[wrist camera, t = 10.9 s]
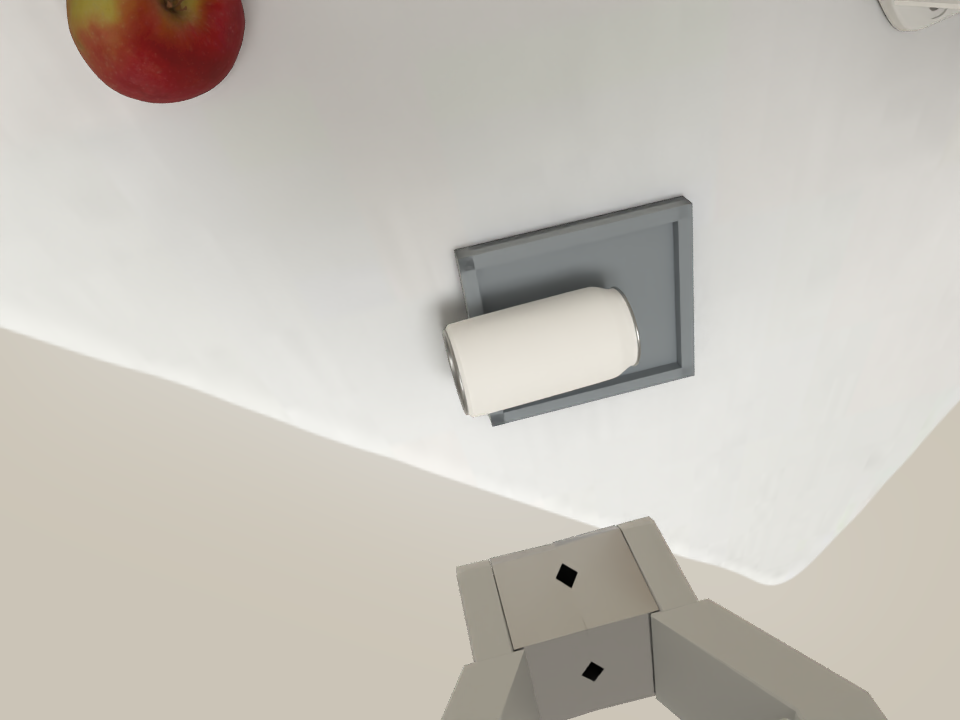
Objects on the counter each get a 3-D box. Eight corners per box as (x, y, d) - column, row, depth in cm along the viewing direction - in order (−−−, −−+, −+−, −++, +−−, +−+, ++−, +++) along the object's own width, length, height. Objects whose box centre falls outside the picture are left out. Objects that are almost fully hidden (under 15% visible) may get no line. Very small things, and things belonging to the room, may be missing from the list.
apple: (263, 83, 41) (251, 115, 34) (111, 89, 40) (67, 124, 33) (239, -74, 37) (220, -73, 30) (69, -72, 36) (9, -70, 29)
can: (465, 421, 51) (625, 376, 52) (470, 418, 44) (652, 366, 46) (440, 333, 52) (599, 291, 53) (442, 317, 45) (622, 269, 46)
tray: (682, 196, 49) (692, 203, 48) (686, 365, 57) (694, 375, 55) (454, 250, 48) (457, 259, 47) (488, 415, 56) (492, 426, 54)
